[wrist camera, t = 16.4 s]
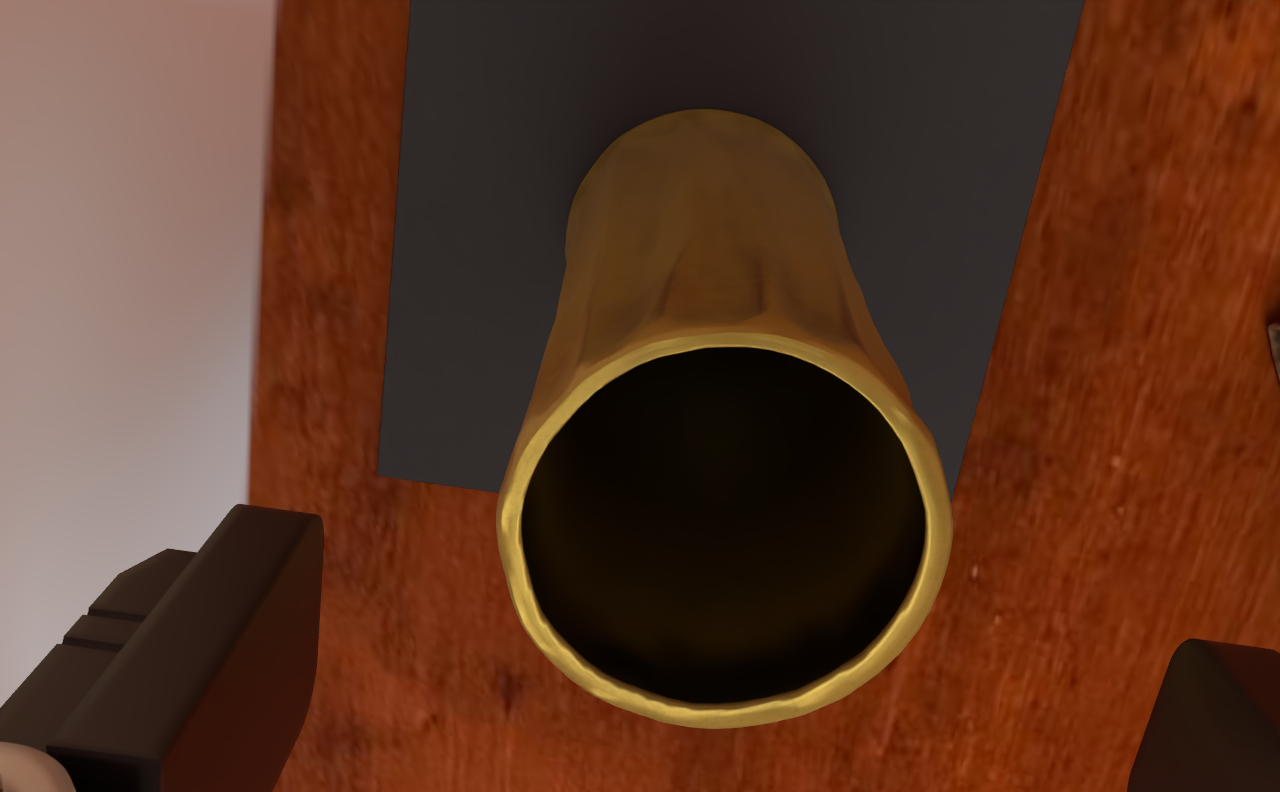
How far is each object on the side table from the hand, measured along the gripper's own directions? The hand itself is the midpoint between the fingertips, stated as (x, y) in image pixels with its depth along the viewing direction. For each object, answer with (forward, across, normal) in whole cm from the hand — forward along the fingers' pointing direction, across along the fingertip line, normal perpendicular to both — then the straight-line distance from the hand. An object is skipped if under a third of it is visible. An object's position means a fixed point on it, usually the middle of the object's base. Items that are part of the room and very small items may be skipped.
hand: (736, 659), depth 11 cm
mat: (+17, 0, 0) cm, 17 cm away
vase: (+17, 0, 0) cm, 17 cm away
